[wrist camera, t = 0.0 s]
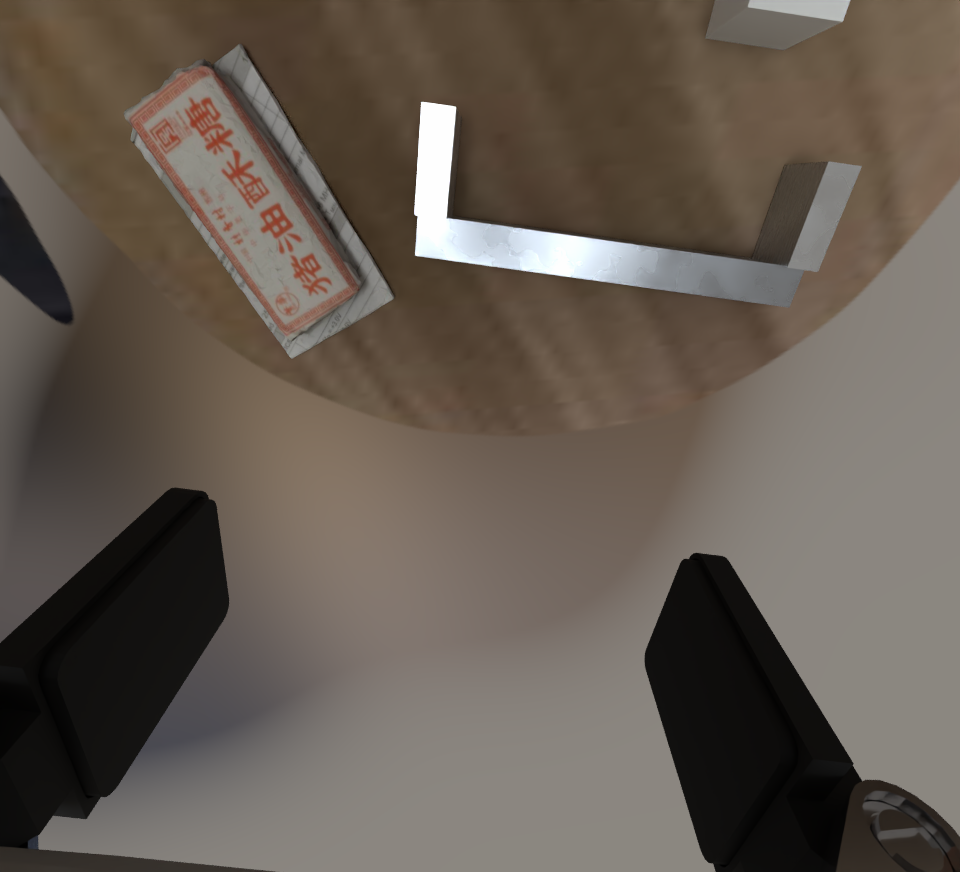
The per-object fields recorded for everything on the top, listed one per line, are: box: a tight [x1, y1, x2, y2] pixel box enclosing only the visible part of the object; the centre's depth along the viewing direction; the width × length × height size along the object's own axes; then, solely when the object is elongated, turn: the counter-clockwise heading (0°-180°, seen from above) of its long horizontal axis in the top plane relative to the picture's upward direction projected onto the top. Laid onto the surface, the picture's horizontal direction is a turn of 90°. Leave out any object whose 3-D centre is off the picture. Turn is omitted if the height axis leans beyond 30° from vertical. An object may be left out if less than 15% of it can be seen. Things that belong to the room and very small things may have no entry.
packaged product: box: [124, 44, 395, 358], centre depth 34 cm, size 18×5×10 cm
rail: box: [414, 102, 862, 307], centre depth 33 cm, size 9×26×5 cm, turn 83°
